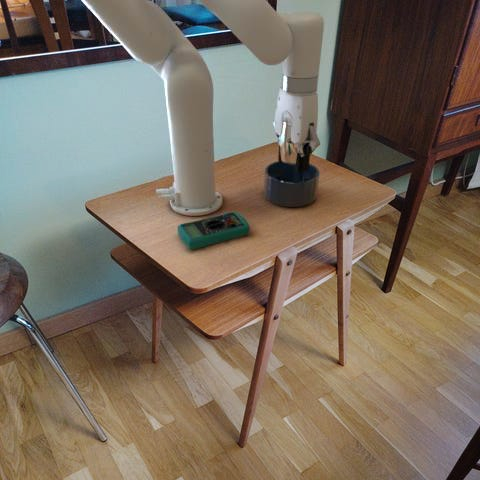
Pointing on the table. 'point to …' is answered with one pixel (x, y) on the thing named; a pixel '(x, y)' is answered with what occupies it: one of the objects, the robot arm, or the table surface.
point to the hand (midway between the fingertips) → (293, 165)
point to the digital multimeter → (213, 230)
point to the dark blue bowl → (290, 186)
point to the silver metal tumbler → (289, 156)
